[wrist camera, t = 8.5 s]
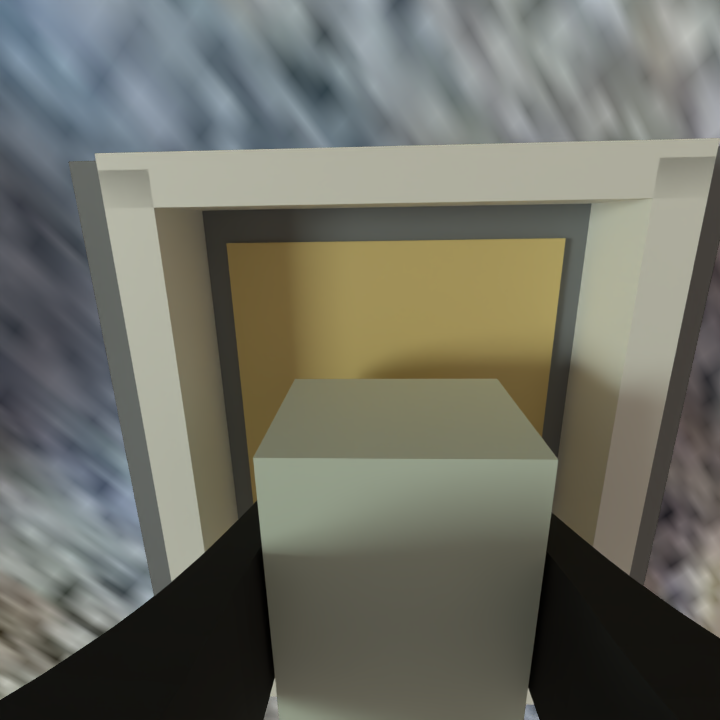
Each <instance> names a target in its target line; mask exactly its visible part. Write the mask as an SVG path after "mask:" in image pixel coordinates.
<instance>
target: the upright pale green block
mask: <svg viewBox="0 0 720 720" xmlns="http://www.w3.org/2000/svg"><path fill="white" fill-rule="evenodd" d="M253 463H254V473H255V483H256V493H257V503H258V513H259V523H260V532H261V542H262V552H263V562H264V572H265V582H266V592H267V602H268V612H269V622H270V632H271V642H272V652H273V662H274V672H275V682H276V692H277V702H278V712H279V720H524V714H525V707H526V699H527V692H528V684H529V677H530V669H531V662H532V654H533V647H534V639H535V632H536V624H537V617H538V609H539V602H540V594H541V587H542V579H543V572H544V564H545V557H546V549H547V542H548V534H549V527H550V519H551V512H552V504H553V497H554V490H555V482H556V475H557V467H558V458H557V457H556V456H555V454H554V453H553V452H552V451H551V449H550V448H549V447H548V445H547V444H546V443H545V441H544V440H543V439H542V437H541V436H540V435H539V433H538V432H537V431H536V429H535V428H534V427H533V425H532V424H531V423H530V421H529V420H528V419H527V417H526V416H525V415H524V413H523V412H522V411H521V410H520V408H519V407H518V406H517V404H516V403H515V402H514V400H513V399H512V398H511V396H510V395H509V394H508V392H507V391H506V390H505V388H504V387H503V386H502V384H501V383H500V382H499V380H498V379H295V380H294V382H293V384H292V386H291V387H290V389H289V391H288V393H287V395H286V397H285V399H284V401H283V402H282V404H281V406H280V408H279V410H278V412H277V414H276V416H275V417H274V419H273V421H272V423H271V425H270V427H269V429H268V431H267V433H266V434H265V436H264V438H263V440H262V442H261V444H260V446H259V448H258V449H257V451H256V453H255V455H254V457H253Z"/></svg>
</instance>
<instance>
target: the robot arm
mask: <svg viewBox="0 0 720 720" xmlns="http://www.w3.org/2000/svg"><path fill="white" fill-rule="evenodd" d="M274 679H275V672H274V662H273V652H272V642H271V632H270V622H269V612H268V602H267V592H266V582H265V572H264V562H263V552H262V542H261V532H260V523H259V513H258V503H257V501H256V502H255V503H254V504H253V505H252V506H251V507H250V508H249V509H248V510H247V511H246V512H245V513H244V514H243V515H242V516H241V517H240V518H239V519H238V520H237V521H236V522H235V523H234V524H233V525H232V526H231V527H230V528H229V529H228V530H227V531H226V532H225V533H224V534H223V535H222V536H221V537H220V538H219V539H218V540H217V541H216V542H215V543H214V544H213V545H212V546H211V547H210V548H209V549H208V550H207V551H206V552H204V553H203V554H202V555H201V556H200V557H199V558H198V559H197V560H196V561H195V562H193V563H192V564H191V565H190V566H189V567H188V568H187V569H186V570H184V571H183V572H182V573H181V574H180V575H179V576H178V577H176V578H175V579H174V580H173V581H172V582H171V583H170V584H168V585H167V586H166V587H165V588H164V589H162V590H161V591H160V592H159V593H157V594H156V595H155V596H154V597H152V598H151V599H150V600H149V601H147V602H146V603H145V604H144V605H142V606H141V607H140V608H138V609H137V610H136V611H134V612H133V613H132V614H130V615H129V616H128V617H126V618H125V619H124V620H122V621H121V622H120V623H118V624H117V625H115V626H114V627H113V628H111V629H110V630H108V631H107V632H106V633H104V634H103V635H101V636H100V637H98V638H97V639H95V640H94V641H92V642H91V643H89V644H88V645H86V646H85V647H83V648H82V649H80V650H79V651H77V652H76V653H74V654H73V655H71V656H70V657H68V658H67V659H65V660H64V661H62V662H61V663H59V664H58V665H56V666H55V667H53V668H52V669H50V670H49V671H47V672H45V673H44V674H42V675H41V676H39V677H37V678H36V679H34V680H33V681H31V682H29V683H28V684H26V685H24V686H23V687H21V688H19V689H18V690H16V691H14V692H13V693H11V694H9V695H8V696H6V697H4V698H3V699H1V700H0V720H263V719H264V715H265V712H266V708H267V704H268V701H269V697H270V694H271V690H272V686H273V683H274ZM528 689H529V692H530V694H531V697H532V700H533V703H534V705H535V708H536V711H537V714H538V717H539V719H540V720H720V638H719V637H717V636H715V635H714V634H712V633H711V632H709V631H708V630H706V629H705V628H703V627H702V626H700V625H699V624H697V623H696V622H694V621H693V620H691V619H689V618H688V617H686V616H685V615H683V614H682V613H680V612H679V611H678V610H676V609H675V608H673V607H672V606H670V605H669V604H667V603H666V602H665V601H663V600H662V599H660V598H659V597H658V596H656V595H655V594H654V593H652V592H651V591H649V590H648V589H647V588H645V587H644V586H643V585H641V584H640V583H639V582H637V581H636V580H635V579H633V578H632V577H631V576H629V575H628V574H627V573H625V572H624V571H623V570H621V569H620V568H619V567H618V566H616V565H615V564H614V563H612V562H611V561H610V560H609V559H607V558H606V557H605V556H604V555H602V554H601V553H600V552H599V551H597V550H596V549H595V548H594V547H592V546H591V545H590V544H589V543H588V542H586V541H585V540H584V539H583V538H582V537H580V536H579V535H578V534H577V533H576V532H574V531H573V530H572V529H571V528H570V527H568V526H567V525H566V524H565V523H564V522H563V521H561V520H560V519H559V518H558V517H557V516H556V515H554V514H553V513H552V512H551V519H550V527H549V534H548V542H547V549H546V557H545V564H544V572H543V579H542V587H541V594H540V602H539V609H538V617H537V624H536V632H535V639H534V647H533V654H532V662H531V669H530V677H529V684H528Z"/></svg>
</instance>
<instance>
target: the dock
mask: <svg viewBox="0 0 720 720" xmlns="http://www.w3.org/2000/svg"><path fill="white" fill-rule="evenodd" d="M719 141H720V138H710V139H669V140H628V141H586V142H545V143H504V144H463V145H422V146H381V147H339V148H298V149H257V150H216V151H175V152H134V153H95V158H96V161H73V162H69V166H70V171H71V177H72V182H73V187H74V192H75V197H76V202H77V207H78V212H79V217H80V222H81V227H82V232H83V238H84V243H85V248H86V253H87V258H88V263H89V268H90V273H91V278H92V283H93V288H94V293H95V298H96V304H97V309H98V314H99V319H100V324H101V329H102V334H103V339H104V344H105V349H106V354H107V359H108V364H109V370H110V375H111V380H112V385H113V390H114V395H115V400H116V405H117V410H118V415H119V420H120V425H121V431H122V436H123V441H124V446H125V451H126V456H127V461H128V466H129V471H130V476H131V481H132V486H133V491H134V497H135V502H136V507H137V512H138V517H139V522H140V527H141V532H142V537H143V542H144V547H145V552H146V557H147V563H148V568H149V573H150V578H151V583H152V588H153V593H154V596H155V595H156V594H157V593H159V592H160V591H161V590H162V589H164V588H165V587H166V586H167V585H168V584H170V583H171V582H172V581H173V580H174V579H175V578H176V577H178V576H179V575H180V574H181V573H182V572H183V571H184V570H186V569H187V568H188V567H189V566H190V565H191V564H192V563H193V562H195V561H196V560H197V559H198V558H199V557H200V556H201V555H202V554H203V553H204V552H206V551H207V550H208V549H209V548H210V547H211V546H212V545H213V544H214V543H215V542H216V541H217V540H218V539H219V538H220V537H221V536H222V535H223V534H224V533H225V532H226V531H227V530H228V529H229V528H230V527H231V526H232V525H233V524H234V523H235V522H236V521H237V520H238V519H239V518H240V517H241V516H242V515H243V514H244V513H245V512H246V511H247V510H248V509H249V508H250V507H251V506H252V505H253V504H254V503H255V502H256V501H257V493H256V483H255V473H254V463H253V457H254V455H255V453H256V451H257V449H258V448H259V446H260V444H261V442H262V440H263V438H264V436H265V434H266V433H267V431H268V429H269V427H270V425H271V423H272V421H273V419H274V417H275V416H276V414H277V412H278V410H279V408H280V406H281V404H282V402H283V401H284V399H285V397H286V395H287V393H288V391H289V389H290V387H291V386H292V384H293V382H294V380H295V379H498V380H499V382H500V383H501V384H502V386H503V387H504V388H505V390H506V391H507V392H508V394H509V395H510V396H511V398H512V399H513V400H514V402H515V403H516V404H517V406H518V407H519V408H520V410H521V411H522V412H523V413H524V415H525V416H526V417H527V419H528V420H529V421H530V423H531V424H532V425H533V427H534V428H535V429H536V431H537V432H538V433H539V435H540V436H541V437H542V439H543V440H544V441H545V443H546V444H547V445H548V447H549V448H550V449H551V451H552V452H553V453H554V454H555V456H556V457H557V458H558V467H557V475H556V482H555V490H554V497H553V504H552V513H553V514H554V515H556V516H557V517H558V518H559V519H560V520H561V521H563V522H564V523H565V524H566V525H567V526H568V527H570V528H571V529H572V530H573V531H574V532H576V533H577V534H578V535H579V536H580V537H582V538H583V539H584V540H585V541H586V542H588V543H589V544H590V545H591V546H592V547H594V548H595V549H596V550H597V551H599V552H600V553H601V554H602V555H604V556H605V557H606V558H607V559H609V560H610V561H611V562H612V563H614V564H615V565H616V566H618V567H619V568H620V569H621V570H623V571H624V572H625V573H627V574H628V575H629V576H631V577H632V578H633V579H635V580H636V581H637V582H639V583H640V584H641V585H644V581H645V576H646V572H647V567H648V563H649V558H650V554H651V549H652V545H653V540H654V535H655V531H656V526H657V522H658V517H659V513H660V508H661V504H662V499H663V495H664V490H665V486H666V481H667V477H668V472H669V467H670V463H671V458H672V454H673V449H674V445H675V440H676V436H677V431H678V427H679V422H680V418H681V413H682V409H683V404H684V399H685V395H686V390H687V386H688V381H689V377H690V372H691V368H692V363H693V359H694V354H695V350H696V345H697V341H698V336H699V332H700V327H701V322H702V318H703V313H704V309H705V304H706V300H707V295H708V291H709V286H710V282H711V277H712V273H713V268H714V264H715V259H716V254H717V250H718V245H719V241H720V146H718V145H719ZM270 697H277V692H276V682H275V679H274V683H273V686H272V690H271V694H270ZM526 704H534V703H533V700H532V697H531V694H530V692H529V689H528V692H527V699H526Z"/></svg>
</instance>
